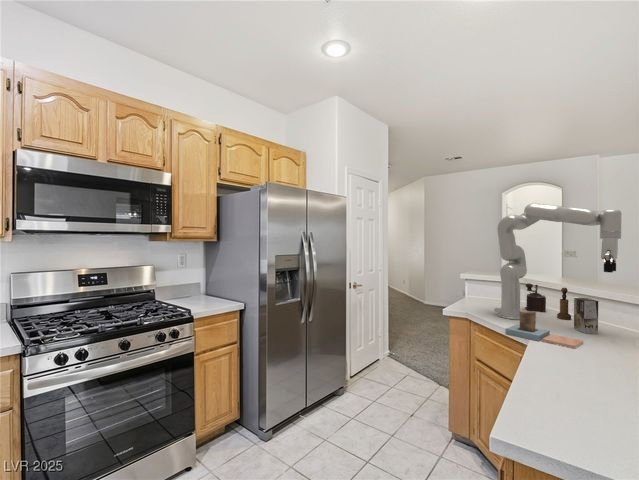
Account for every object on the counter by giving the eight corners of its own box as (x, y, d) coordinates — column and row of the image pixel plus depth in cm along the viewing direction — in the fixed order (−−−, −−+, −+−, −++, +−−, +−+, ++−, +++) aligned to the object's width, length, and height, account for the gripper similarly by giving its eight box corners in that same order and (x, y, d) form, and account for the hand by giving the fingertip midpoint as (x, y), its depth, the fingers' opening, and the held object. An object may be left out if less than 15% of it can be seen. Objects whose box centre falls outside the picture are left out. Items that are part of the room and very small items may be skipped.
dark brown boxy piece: (525, 307, 218) (525, 280, 217) (545, 309, 212) (545, 282, 211) (525, 311, 204) (525, 283, 204) (546, 314, 198) (546, 285, 198)
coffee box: (598, 334, 157) (599, 301, 157) (583, 333, 159) (584, 300, 158) (587, 329, 166) (587, 297, 166) (573, 328, 167) (573, 297, 167)
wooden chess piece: (554, 317, 191) (554, 286, 191) (564, 317, 191) (564, 286, 191) (563, 320, 184) (563, 288, 184) (574, 320, 185) (574, 288, 184)
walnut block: (519, 334, 156) (519, 311, 156) (523, 332, 159) (524, 310, 159) (531, 337, 152) (531, 313, 152) (535, 335, 155) (535, 312, 155)
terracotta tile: (542, 341, 145) (542, 338, 145) (551, 336, 153) (551, 334, 153) (574, 348, 136) (574, 345, 136) (583, 343, 143) (583, 340, 143)
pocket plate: (505, 333, 157) (505, 328, 157) (517, 329, 165) (517, 324, 165) (538, 341, 146) (538, 335, 146) (549, 335, 154) (549, 330, 154)
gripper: (603, 235, 163) (602, 269, 163) (596, 235, 151) (596, 272, 151) (623, 235, 157) (623, 271, 157) (618, 235, 146) (617, 273, 146)
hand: (609, 271), depth 154 cm, fingers open, 9 cm apart
